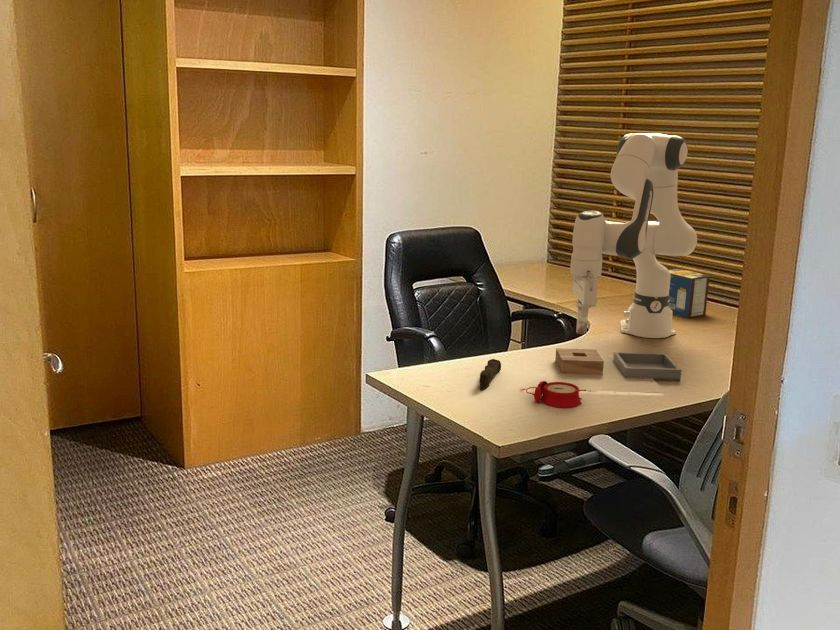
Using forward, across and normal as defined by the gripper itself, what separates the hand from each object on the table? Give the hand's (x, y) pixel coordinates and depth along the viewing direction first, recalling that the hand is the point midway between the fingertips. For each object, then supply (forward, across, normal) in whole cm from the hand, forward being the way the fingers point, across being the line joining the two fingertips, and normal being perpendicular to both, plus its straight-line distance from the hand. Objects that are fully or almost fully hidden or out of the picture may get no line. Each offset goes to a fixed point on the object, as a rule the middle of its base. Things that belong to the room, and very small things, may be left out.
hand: (582, 314), depth 241 cm
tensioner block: (+17, 0, 0) cm, 17 cm away
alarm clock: (+17, -27, +11) cm, 34 cm away
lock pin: (+6, 0, 0) cm, 6 cm away
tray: (+17, 0, -20) cm, 26 cm away
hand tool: (+17, -12, +27) cm, 35 cm away
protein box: (+18, +77, -53) cm, 95 cm away
